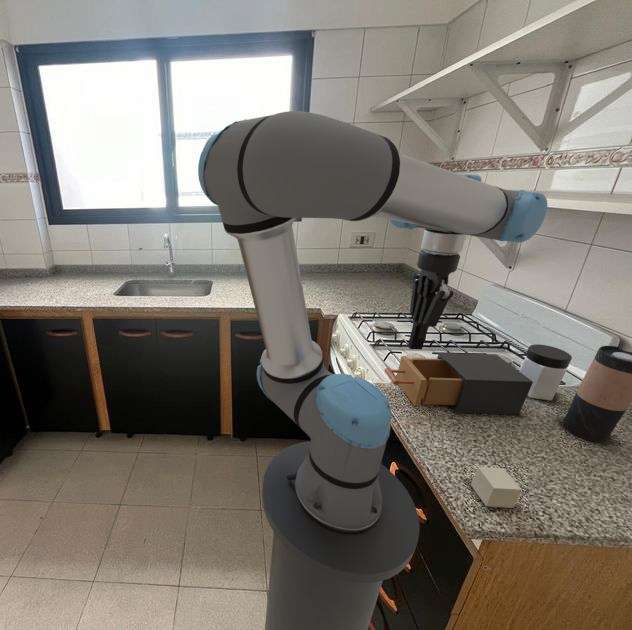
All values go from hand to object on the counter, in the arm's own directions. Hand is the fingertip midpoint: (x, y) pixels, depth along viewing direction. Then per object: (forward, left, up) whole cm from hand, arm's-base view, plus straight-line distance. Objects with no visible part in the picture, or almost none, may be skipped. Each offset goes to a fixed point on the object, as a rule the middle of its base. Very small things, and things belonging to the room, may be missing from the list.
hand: (414, 347), depth 83 cm
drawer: (+6, +2, -14) cm, 15 cm away
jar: (+36, +6, -15) cm, 40 cm away
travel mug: (+36, -9, -15) cm, 40 cm away
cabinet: (+18, +2, -15) cm, 24 cm away
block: (+4, -28, -15) cm, 32 cm away
